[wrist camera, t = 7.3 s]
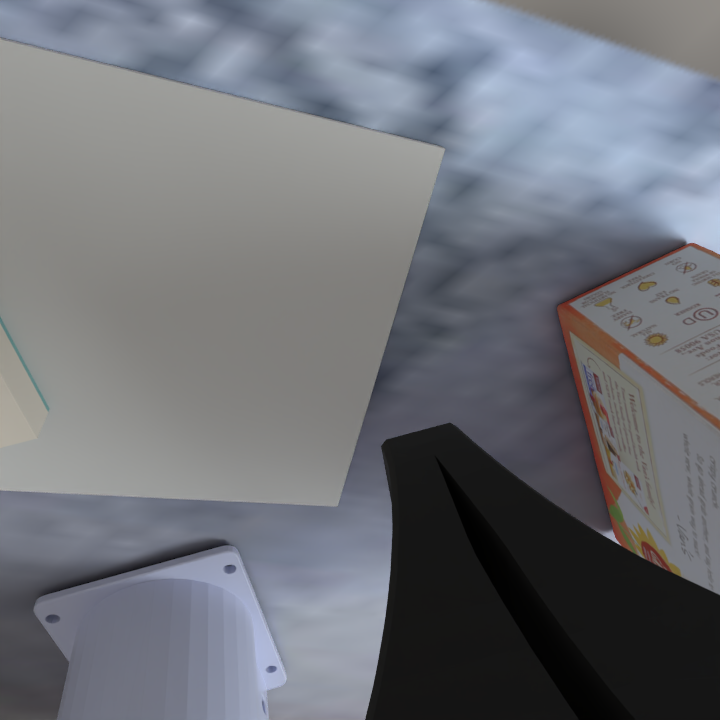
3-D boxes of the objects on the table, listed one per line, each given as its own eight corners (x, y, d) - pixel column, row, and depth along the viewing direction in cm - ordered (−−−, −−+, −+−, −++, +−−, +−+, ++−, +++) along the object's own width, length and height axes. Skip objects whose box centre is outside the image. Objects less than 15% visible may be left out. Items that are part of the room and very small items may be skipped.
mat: (441, 146, 18) (445, 148, 18) (335, 499, 24) (337, 506, 24) (-447, -73, 12) (-466, -76, 12) (-293, 467, 18) (-302, 475, 18)
